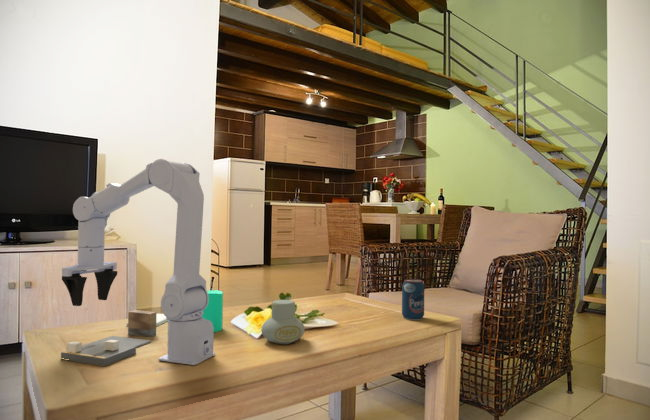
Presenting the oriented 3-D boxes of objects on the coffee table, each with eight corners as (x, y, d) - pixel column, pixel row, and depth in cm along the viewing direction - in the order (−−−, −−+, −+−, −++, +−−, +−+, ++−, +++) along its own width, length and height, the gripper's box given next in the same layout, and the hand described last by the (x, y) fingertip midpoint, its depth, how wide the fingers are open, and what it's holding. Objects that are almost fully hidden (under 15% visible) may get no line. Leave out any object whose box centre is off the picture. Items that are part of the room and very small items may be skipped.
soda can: (412, 321, 135) (413, 282, 135) (397, 317, 140) (397, 279, 140) (428, 319, 138) (429, 280, 138) (413, 314, 144) (413, 278, 144)
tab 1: (81, 350, 97) (81, 342, 97) (75, 352, 95) (75, 344, 95) (73, 349, 97) (73, 341, 98) (66, 351, 96) (66, 343, 96)
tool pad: (150, 342, 109) (150, 340, 109) (133, 348, 104) (133, 347, 104) (112, 337, 113) (112, 335, 113) (93, 343, 107) (93, 342, 107)
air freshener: (265, 347, 106) (266, 306, 106) (258, 338, 114) (258, 300, 114) (308, 343, 110) (309, 303, 110) (298, 335, 118) (298, 297, 118)
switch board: (135, 353, 100) (135, 346, 100) (104, 366, 92) (104, 358, 92) (94, 347, 104) (94, 341, 104) (60, 359, 96) (61, 352, 96)
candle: (206, 333, 118) (206, 288, 118) (196, 329, 123) (197, 285, 123) (226, 329, 122) (227, 286, 122) (216, 325, 126) (216, 283, 127)
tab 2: (118, 348, 98) (119, 340, 98) (113, 350, 97) (113, 342, 97) (110, 347, 99) (110, 339, 99) (104, 349, 98) (104, 341, 98)
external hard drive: (175, 319, 135) (152, 329, 123) (150, 318, 137) (126, 328, 124) (175, 314, 135) (153, 324, 123) (150, 313, 137) (126, 322, 124)
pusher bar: (156, 334, 116) (156, 312, 116) (149, 337, 114) (150, 314, 114) (134, 332, 118) (135, 309, 119) (128, 334, 116) (128, 311, 116)
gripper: (101, 244, 116) (100, 296, 115) (52, 248, 102) (50, 307, 102) (123, 245, 113) (122, 298, 113) (75, 249, 100) (74, 309, 99)
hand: (90, 302), depth 107 cm, fingers open, 7 cm apart
